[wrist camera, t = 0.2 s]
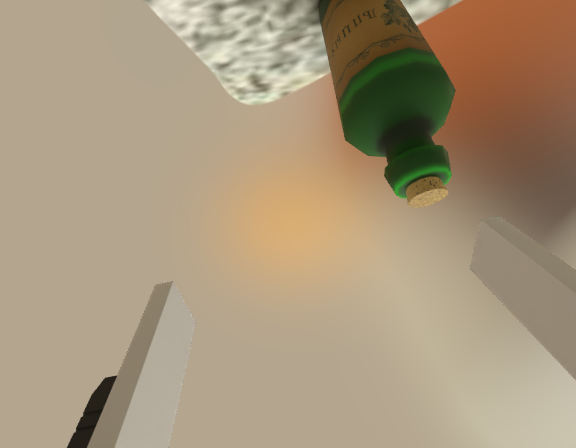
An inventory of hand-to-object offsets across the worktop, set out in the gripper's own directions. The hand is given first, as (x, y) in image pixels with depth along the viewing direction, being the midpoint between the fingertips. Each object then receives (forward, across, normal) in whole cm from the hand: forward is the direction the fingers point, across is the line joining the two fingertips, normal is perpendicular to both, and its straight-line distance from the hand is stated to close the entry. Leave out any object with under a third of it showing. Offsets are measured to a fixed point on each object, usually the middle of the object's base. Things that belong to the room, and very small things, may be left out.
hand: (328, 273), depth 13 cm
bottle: (+35, +12, +11) cm, 38 cm away
